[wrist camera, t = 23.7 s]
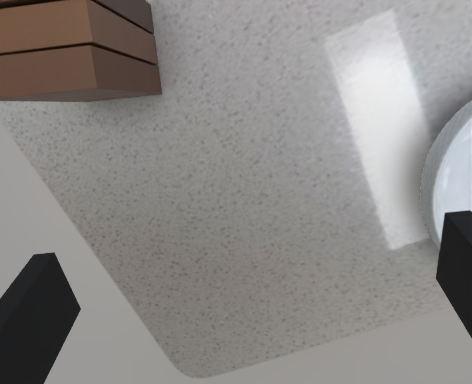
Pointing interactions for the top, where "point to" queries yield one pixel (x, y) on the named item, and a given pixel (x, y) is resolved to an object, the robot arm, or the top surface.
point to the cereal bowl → (448, 173)
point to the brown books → (77, 50)
